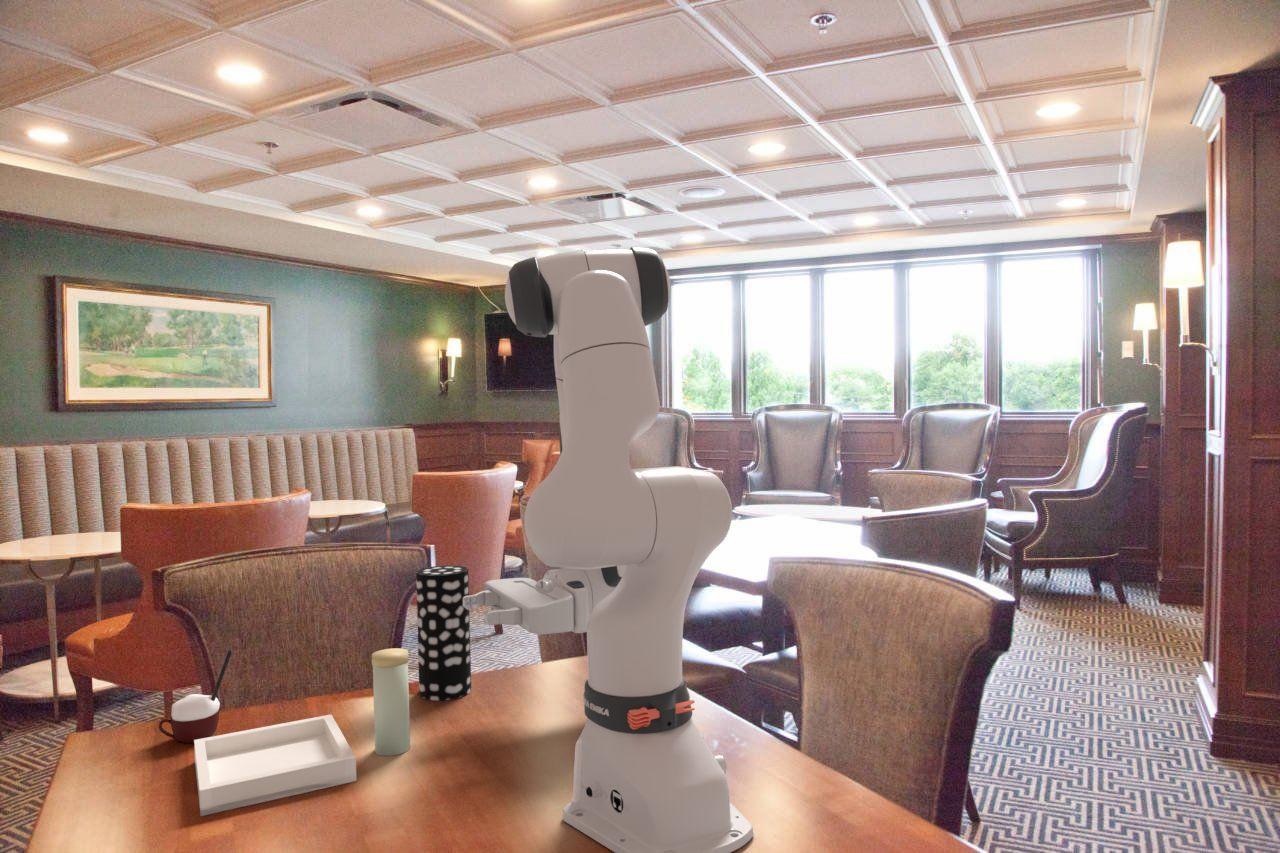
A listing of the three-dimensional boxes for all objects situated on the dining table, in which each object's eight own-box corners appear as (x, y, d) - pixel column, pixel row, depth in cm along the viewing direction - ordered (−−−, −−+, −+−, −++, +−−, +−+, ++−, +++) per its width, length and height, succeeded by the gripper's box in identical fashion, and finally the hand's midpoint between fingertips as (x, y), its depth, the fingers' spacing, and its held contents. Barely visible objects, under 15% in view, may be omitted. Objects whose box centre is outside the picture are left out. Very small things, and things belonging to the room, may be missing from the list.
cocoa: (155, 750, 119) (147, 666, 118) (178, 731, 125) (169, 651, 124) (224, 745, 119) (216, 661, 118) (243, 726, 125) (236, 646, 124)
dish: (356, 780, 107) (355, 757, 107) (200, 816, 98) (199, 790, 98) (331, 735, 122) (331, 714, 122) (194, 762, 113) (194, 739, 113)
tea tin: (414, 751, 116) (412, 654, 115) (378, 759, 113) (376, 660, 113) (406, 739, 120) (403, 646, 119) (371, 746, 117) (368, 651, 117)
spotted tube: (458, 702, 135) (455, 576, 134) (410, 699, 136) (406, 574, 136) (479, 684, 143) (476, 566, 142) (432, 682, 144) (429, 565, 144)
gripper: (535, 565, 138) (452, 575, 131) (591, 591, 120) (498, 604, 113) (536, 603, 138) (452, 615, 131) (592, 635, 120) (499, 651, 114)
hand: (474, 610), depth 122 cm, fingers open, 8 cm apart
